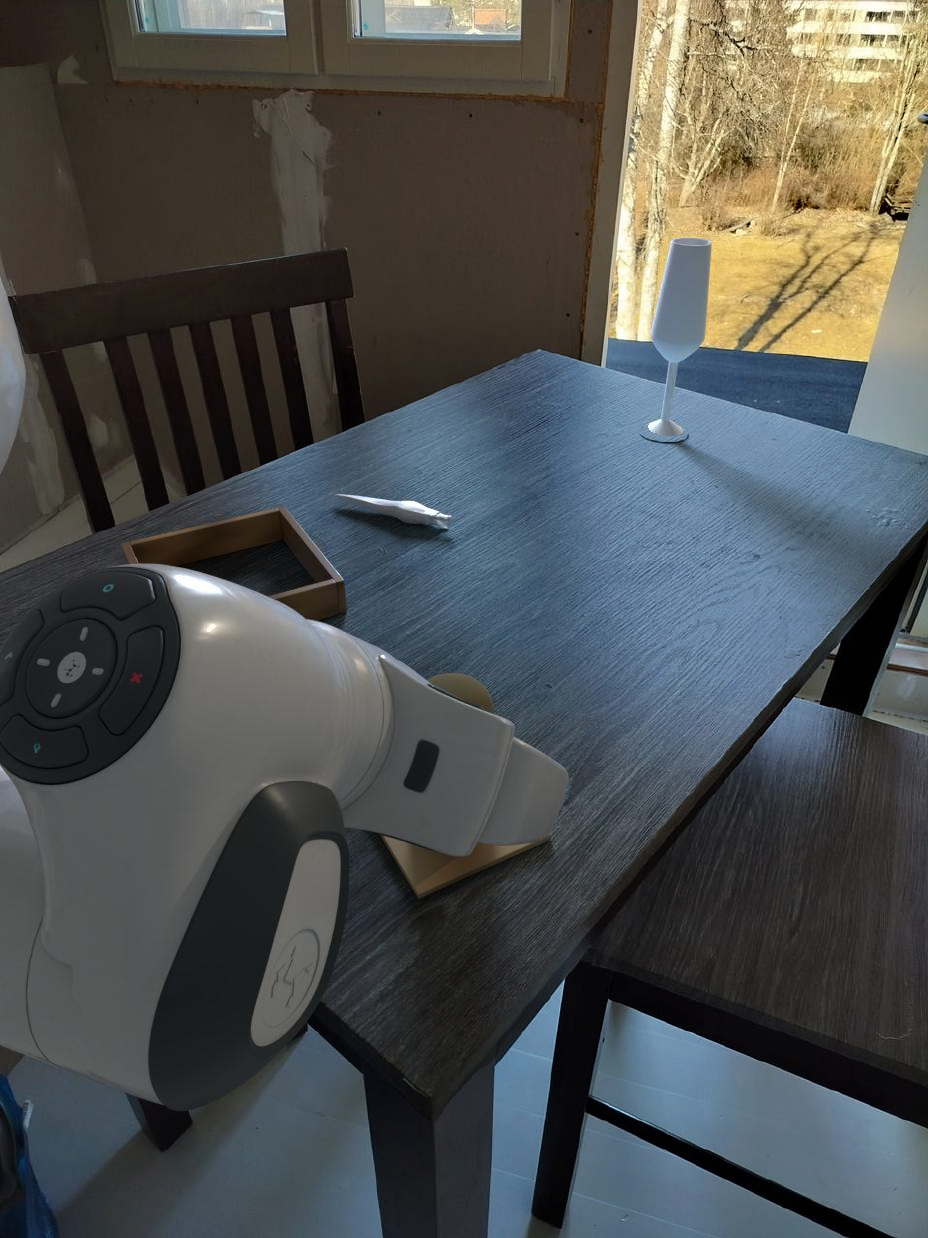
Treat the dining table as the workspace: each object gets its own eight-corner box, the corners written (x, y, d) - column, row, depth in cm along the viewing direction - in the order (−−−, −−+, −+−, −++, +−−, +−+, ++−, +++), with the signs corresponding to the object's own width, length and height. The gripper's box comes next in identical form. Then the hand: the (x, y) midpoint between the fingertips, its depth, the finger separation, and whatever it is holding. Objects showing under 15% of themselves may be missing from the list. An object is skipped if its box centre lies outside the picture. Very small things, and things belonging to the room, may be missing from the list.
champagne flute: (634, 439, 113) (659, 245, 99) (641, 420, 118) (666, 234, 104) (686, 445, 111) (718, 249, 97) (691, 426, 116) (722, 237, 103)
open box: (166, 664, 73) (158, 631, 71) (128, 573, 85) (120, 543, 83) (347, 612, 79) (344, 580, 77) (287, 534, 91) (284, 505, 89)
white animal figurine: (457, 524, 93) (457, 509, 92) (447, 535, 91) (447, 519, 90) (341, 497, 98) (340, 482, 97) (328, 506, 96) (327, 491, 95)
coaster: (418, 899, 53) (418, 894, 53) (355, 795, 60) (355, 790, 60) (551, 839, 57) (552, 834, 57) (478, 748, 64) (478, 743, 64)
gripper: (135, 718, 44) (278, 742, 56) (492, 874, 36) (564, 861, 48) (181, 603, 44) (312, 653, 57) (542, 731, 36) (600, 756, 49)
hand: (430, 749), depth 53 cm, fingers open, 8 cm apart
